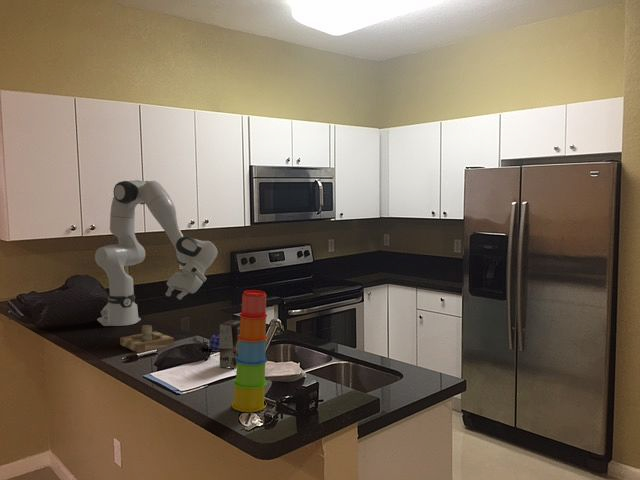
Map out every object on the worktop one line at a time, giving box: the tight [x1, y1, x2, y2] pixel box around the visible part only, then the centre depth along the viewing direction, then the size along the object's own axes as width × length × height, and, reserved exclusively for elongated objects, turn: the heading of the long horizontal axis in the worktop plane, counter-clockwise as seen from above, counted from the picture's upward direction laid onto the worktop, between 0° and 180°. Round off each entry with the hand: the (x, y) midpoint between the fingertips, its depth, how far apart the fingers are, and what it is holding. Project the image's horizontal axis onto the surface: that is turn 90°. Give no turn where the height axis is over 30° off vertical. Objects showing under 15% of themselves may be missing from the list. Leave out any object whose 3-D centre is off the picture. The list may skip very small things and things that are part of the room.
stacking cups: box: [231, 289, 268, 413], centre depth 158 cm, size 10×10×35 cm
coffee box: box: [219, 319, 241, 369], centre depth 198 cm, size 9×6×16 cm
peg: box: [141, 324, 153, 342], centre depth 224 cm, size 4×4×8 cm
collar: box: [119, 330, 175, 354], centre depth 225 cm, size 16×16×3 cm
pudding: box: [207, 334, 220, 352], centre depth 221 cm, size 12×12×5 cm
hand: (172, 297), depth 232 cm, fingers open, 8 cm apart
